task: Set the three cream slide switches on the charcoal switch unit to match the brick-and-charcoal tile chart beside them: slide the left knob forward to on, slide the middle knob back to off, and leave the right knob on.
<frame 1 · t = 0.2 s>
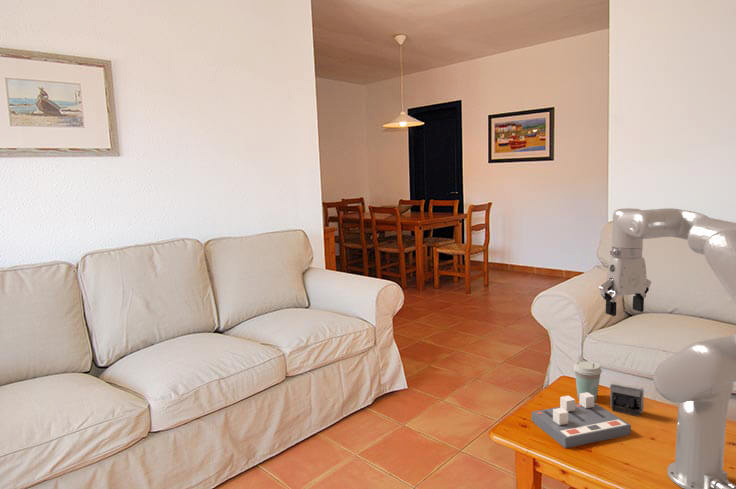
hand: (624, 312, 135), 36 cm above the table, tool pointing down, fingers open, 9 cm apart
switch unit: (579, 427, 143), on the table
middle switch: (567, 403, 148), point 5 cm above the table, slide at 6.0 cm
electrical switch: (626, 413, 151), on the table
right switch: (586, 400, 150), point 5 cm above the table, slide at 6.0 cm
left switch: (560, 416, 140), point 5 cm above the table, slide at 0.0 cm
coffee cup: (586, 399, 162), on the table
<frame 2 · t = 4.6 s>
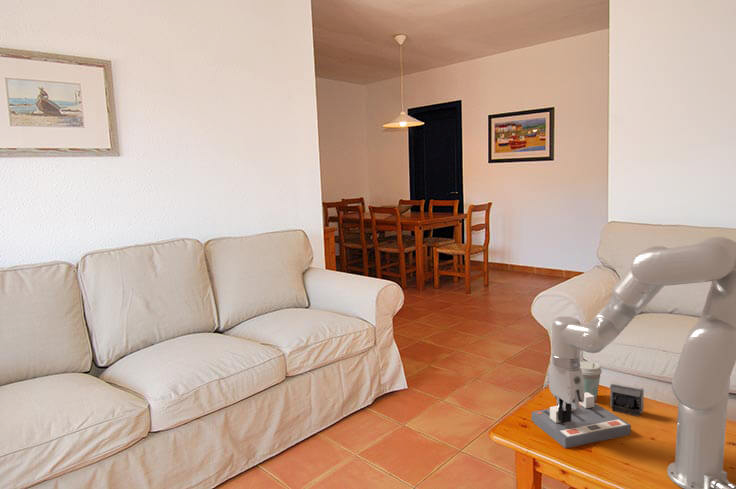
hand: (564, 420, 139), 5 cm above the table, tool pointing down, fingers closed
left switch: (557, 414, 142), point 5 cm above the table, slide at 1.5 cm, touching gripper
everything else where it was.
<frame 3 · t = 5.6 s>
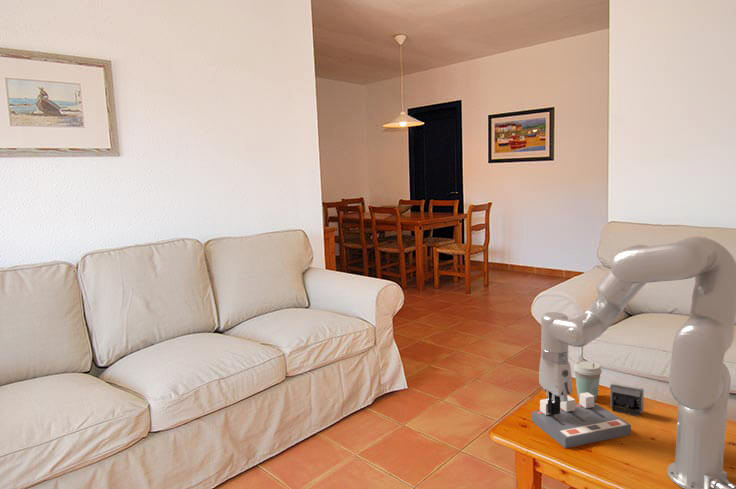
hand: (553, 413, 143), 5 cm above the table, tool pointing down, fingers closed
left switch: (547, 406, 147), point 5 cm above the table, slide at 6.4 cm, touching gripper
everything else where it was.
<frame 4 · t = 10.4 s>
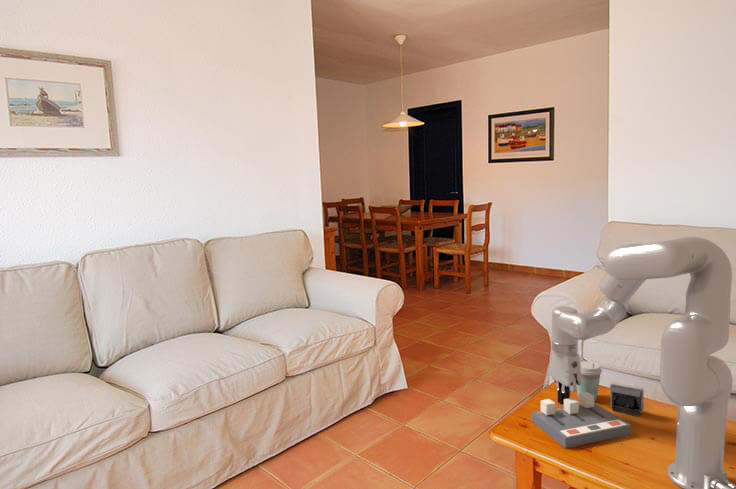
hand: (563, 402, 150), 4 cm above the table, tool pointing down, fingers closed
middle switch: (571, 405, 146), point 5 cm above the table, slide at 4.4 cm, touching gripper
left switch: (547, 407, 146), point 5 cm above the table, slide at 6.1 cm
everything else where it was.
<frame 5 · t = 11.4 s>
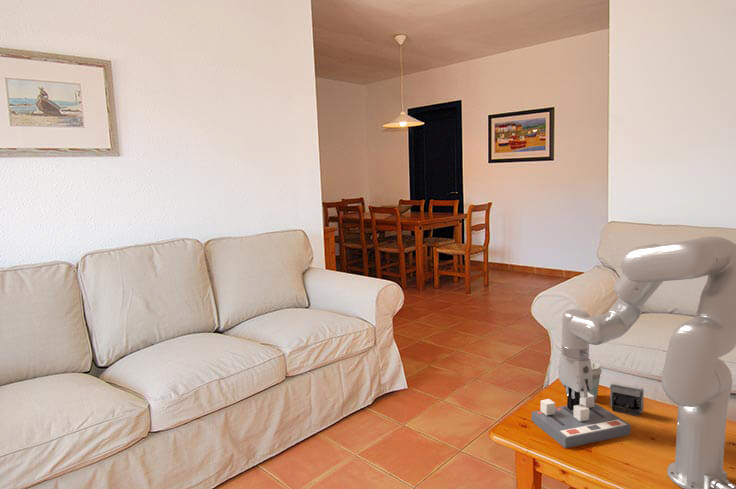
hand: (573, 408, 145), 5 cm above the table, tool pointing down, fingers closed
middle switch: (581, 412, 142), point 5 cm above the table, slide at -0.2 cm, touching gripper
everything else where it was.
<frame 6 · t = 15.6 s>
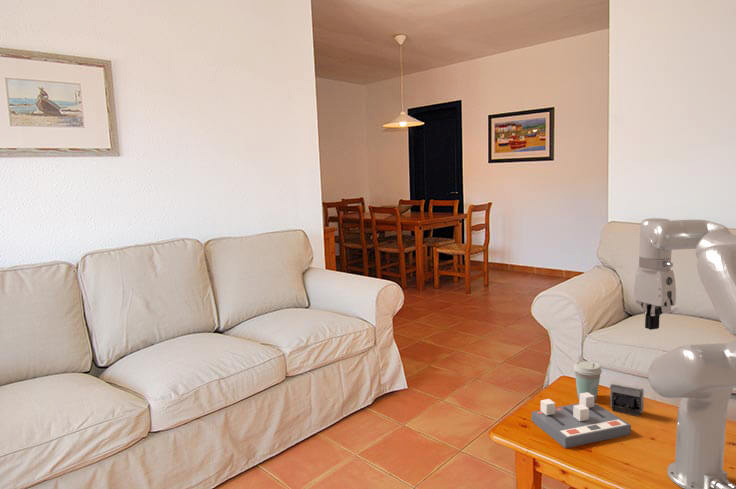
hand: (651, 328, 133), 32 cm above the table, tool pointing down, fingers closed
middle switch: (581, 412, 142), point 5 cm above the table, slide at -0.1 cm
everything else where it was.
at the end: left switch slide at 6.1 cm; middle switch slide at -0.1 cm; right switch slide at 6.0 cm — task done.
